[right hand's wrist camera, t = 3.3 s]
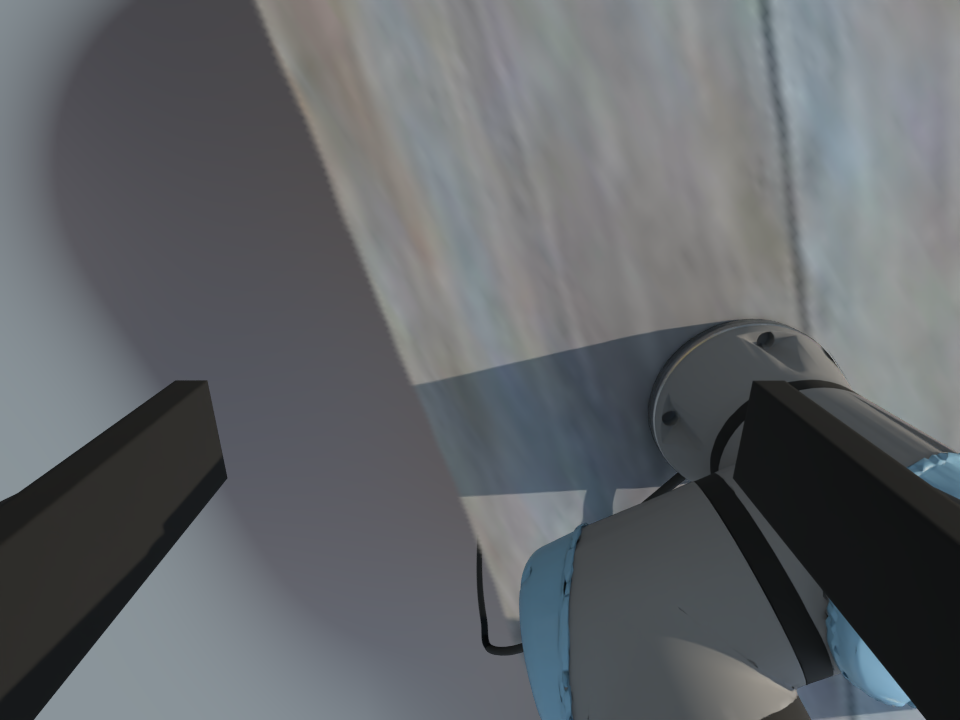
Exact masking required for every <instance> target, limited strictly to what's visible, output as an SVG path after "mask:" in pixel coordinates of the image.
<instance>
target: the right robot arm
mask: <svg viewBox="0 0 960 720" xmlns="http://www.w3.org/2000/svg"><path fill="white" fill-rule="evenodd" d="M830 354H831V353H830ZM832 357H833V356H832ZM835 362H836V361H835ZM835 362H834V361H833V359H832V358H831V357H830V355H829V354H828V353H827V352H826V351H825V350H824V349H823V348H822V347H821V346H820V345H819V344H818V343H817V342H816V341H815V340H813V339H812V338H810V337H809V336H807V335H806V334H804V333H802V332H800V331H798V330H796V329H794V328H792V327H790V326H787V325H785V324H782V323H779V322H775V321H771V320H763V319H744V320H737V321H732V322H728V323H724V324H721V325H718V326H715V327H713V328H710V329H708V330H706V331H704V332H702V333H700V334H699V335H697V336H695V337H694V338H692V339H691V340H689V341H688V342H687V343H686V344H684V345H683V346H682V347H681V348H680V349H679V350H677V351H676V352H675V353H674V355H673V356H672V357H671V358H670V359H669V360H668V362H667V363H666V364H665V366H664V367H663V369H662V370H661V372H660V373H659V375H658V377H657V379H656V381H655V384H654V387H653V389H652V393H651V396H650V402H649V413H648V414H649V424H650V429H651V433H652V436H653V438H654V441H655V443H656V444H657V446H658V448H659V450H660V451H661V453H662V454H663V456H664V458H665V459H666V460H667V462H668V463H669V464H670V465H671V466H672V467H673V468H674V469H675V470H676V471H677V472H678V473H677V474H676V475H674V476H673V477H672V478H671V479H670V480H668V481H667V482H666V483H665V484H664V485H663V486H661V487H660V488H659V489H658V490H657V491H655V492H654V493H653V494H652V495H651V496H649V497H648V498H647V499H646V500H644V501H643V502H642V503H641V504H638V505H636V506H634V507H631V508H629V509H626V510H624V511H621V512H619V513H617V514H614V515H612V516H609V517H607V518H605V519H602V520H600V521H597V522H595V523H592V524H590V525H589V524H587V523H584V524H581V525H579V526H578V527H577V528H576V529H575V530H574V532H572V533H570V534H567V535H565V536H563V537H561V538H559V539H557V540H555V541H553V542H551V543H549V544H547V545H545V546H543V547H541V548H539V549H538V550H537V551H535V552H534V553H533V554H532V556H531V557H530V558H529V560H528V562H527V563H526V566H525V568H524V571H523V574H522V580H521V590H520V597H519V612H520V627H521V637H522V643H521V644H518V645H514V646H508V647H496V646H493V645H491V644H490V642H489V637H488V622H487V615H486V609H485V602H484V592H483V577H482V550H481V548H480V545H479V543H478V540H477V563H476V564H477V566H476V570H477V571H476V573H477V596H478V606H479V614H480V621H481V638H482V644H483V646H484V648H485V650H486V651H487V652H489V653H491V654H494V655H513V654H518V653H521V652H524V657H525V662H526V667H527V672H528V676H529V681H530V685H531V689H532V693H533V696H534V700H535V703H536V707H537V709H538V712H539V715H540V717H541V720H811V718H810V717H809V715H808V713H807V711H806V709H805V707H804V706H803V704H802V702H801V700H800V698H799V696H798V695H797V691H796V690H797V688H799V687H802V686H804V685H808V684H810V683H813V682H816V681H819V680H822V679H825V678H828V677H831V676H835V675H838V674H841V673H842V674H843V676H844V677H845V678H846V679H847V680H849V681H850V682H851V683H852V684H853V686H855V687H858V688H859V689H861V690H862V691H863V692H865V693H866V694H867V695H868V696H870V697H872V698H874V699H875V700H877V701H881V702H883V703H884V704H887V705H891V706H896V707H902V706H903V705H905V704H906V703H907V704H908V705H909V706H911V707H913V708H917V709H918V710H919V711H920V713H921V714H922V715H923V716H924V718H925V719H926V720H960V453H958V452H956V451H954V450H953V449H951V448H949V447H947V446H946V445H944V444H942V443H941V442H939V441H937V440H935V439H934V438H932V437H930V436H929V435H927V434H925V433H924V432H922V431H920V430H918V429H917V428H915V427H913V426H912V425H910V424H908V423H906V422H905V421H903V420H901V419H900V418H898V417H896V416H894V415H893V414H891V413H889V412H888V411H886V410H884V409H883V408H881V407H879V406H877V405H876V404H874V403H872V402H871V401H869V400H867V399H865V398H864V397H862V396H860V395H859V394H857V393H855V392H854V391H853V390H852V389H851V387H850V386H849V384H850V383H849V384H848V382H847V381H846V379H845V378H844V376H845V375H844V376H843V375H842V373H843V372H842V373H841V372H840V370H839V369H838V367H837V365H838V364H837V365H836V364H835ZM839 368H840V367H839ZM226 479H227V474H226V469H225V464H224V459H223V455H222V450H221V445H220V440H219V435H218V430H217V426H216V421H215V416H214V411H213V406H212V401H211V396H210V391H209V387H208V382H207V381H174V382H173V383H171V384H170V385H169V386H167V387H166V388H164V389H163V390H162V391H160V392H159V393H157V394H156V395H155V396H153V397H152V398H150V399H149V400H148V401H146V402H145V403H143V404H142V405H141V406H139V407H138V408H136V409H135V410H134V411H132V412H131V413H129V414H128V415H127V416H125V417H124V418H122V419H121V420H120V421H118V422H117V423H115V424H114V425H113V426H111V427H110V428H108V429H107V430H106V431H104V432H103V433H101V434H100V435H99V436H97V437H96V438H94V439H93V440H92V441H90V442H89V443H87V444H86V445H85V446H83V447H82V448H80V449H79V450H78V451H76V452H75V453H73V454H72V455H71V456H69V457H68V458H66V459H65V460H64V461H62V462H61V463H59V464H58V465H57V466H55V467H54V468H52V469H51V470H50V471H48V472H47V473H45V474H44V475H43V476H41V477H40V478H38V479H37V480H36V481H34V482H33V483H31V484H30V485H29V486H27V487H26V488H24V489H23V490H22V491H20V492H19V493H17V494H15V495H13V496H11V497H9V498H7V499H5V500H3V501H1V502H0V720H34V719H35V718H36V716H37V715H38V714H39V713H40V711H41V710H42V709H43V708H44V706H45V705H46V704H47V703H48V701H49V700H50V699H51V698H52V696H53V695H54V694H55V693H56V691H57V690H58V689H59V688H60V686H61V685H62V684H63V683H64V681H65V680H66V679H67V678H68V676H69V675H70V674H71V673H72V671H73V670H74V669H75V668H76V666H77V665H78V664H79V663H80V661H81V660H82V659H83V658H84V656H85V655H86V654H87V653H88V651H89V650H90V649H91V648H92V646H93V645H94V644H95V643H96V641H97V640H98V639H99V638H100V636H101V635H102V634H103V633H104V631H105V630H106V629H107V628H108V626H109V625H110V624H111V623H112V621H113V620H114V619H115V618H116V616H117V615H118V614H119V613H120V612H121V610H122V609H123V608H124V607H125V605H126V604H127V603H128V601H129V600H130V599H131V598H132V597H133V595H134V594H135V593H136V592H137V590H138V589H139V588H140V587H141V585H142V584H143V583H144V582H145V580H146V579H147V578H148V577H149V575H150V574H151V573H152V572H153V570H154V569H155V568H156V567H157V565H158V564H159V563H160V562H161V560H162V559H163V558H164V557H165V555H166V554H167V553H168V552H169V550H170V549H171V548H172V547H173V545H174V544H175V543H176V542H177V540H178V539H179V538H180V537H181V535H182V534H183V533H184V532H185V530H186V529H187V528H188V527H189V525H190V524H191V523H192V522H193V520H194V519H195V518H196V517H197V515H198V514H199V513H200V512H201V510H202V509H203V508H204V507H205V505H206V504H207V503H208V502H209V500H210V499H211V498H212V497H213V495H214V494H215V493H216V492H217V490H218V489H219V488H220V487H221V485H222V484H223V483H224V482H225V480H226ZM685 479H687V480H689V481H691V482H690V483H688V484H685V485H683V486H681V487H679V488H676V489H674V488H675V487H676V486H678V485H679V484H680V483H681V482H682V481H684V480H685ZM673 489H674V490H673Z"/></svg>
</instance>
